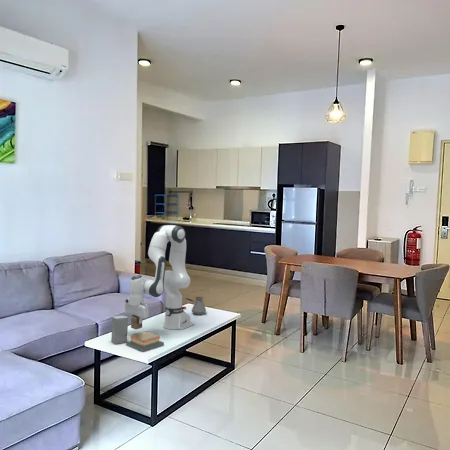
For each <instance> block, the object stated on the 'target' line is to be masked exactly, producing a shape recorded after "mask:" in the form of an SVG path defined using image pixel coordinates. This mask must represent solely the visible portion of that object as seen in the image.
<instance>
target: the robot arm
mask: <svg viewBox="0 0 450 450" xmlns="http://www.w3.org/2000/svg"><path fill="white" fill-rule="evenodd" d="M169 242H170V245H171V246H170V250H169V257H168V262H169V265H170V266H171V268H172V270H171V269H169V270H166V267H167V259H166V252H167V251H166V250H167V244H168V243H169ZM186 254H187V240H186V230H185V228H184V227H183V226H180V225H173V224H164V225H161V226H159V227H158V228H157V231H156V232H154V234H153V236H152V237H151V241H150V243H149V247H148V251H147V255H148V257H149V259H150V260H151V262H153V263H154V265H155V273H154V274H155V275H154V280H153V279H150V278H145V277H143V276H142V275H133V276H132V277H131V278H130V281H129V293H130V294H129V297H128V298H125V299H124V303H125V304H124V312H125V313H126V314H129V315H130V317H131V316H132V315H135V316H138V317H139V318H140V319H139V320H138V323H139V324H140V323H142V324H143V319H147V318H149V315H150V312H149V307H148V305H147V303H145V298H144V297H145V296H144V295H145V294H146V295H149V296H150V297H153V298H159V297H160V296H162V295H163V293H164V291H165V299H166V300H165V309H164V310H165V316H164V322H163V325H162V326H163V328H164V329H166V330H167V329H168V330H185V329H187V328H190V327H191V326H193V325H195V323H194V322H193V321H191V316H190V314H188V313H187V312H185V310H187V307H186V306H183V295H182V293H181V292H180V291H179V290H180V289H181V290H182V289H187V288H189V286H190V284H191V277H190V276H189V274H188V271H187V269H186V268H187V267H186V256H187V255H186Z"/></svg>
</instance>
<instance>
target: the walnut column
mask: <svg viewBox="0 0 450 450" xmlns="http://www.w3.org/2000/svg"><path fill="white" fill-rule="evenodd" d="M139 319H140V318H139V317H138V316H135V315H132V316H131V315H130V329H134V330H139V329H142V328H143V322H142V323H140V324H139V323H138V320H139Z"/></svg>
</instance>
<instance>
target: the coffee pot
mask: <svg viewBox="0 0 450 450" xmlns="http://www.w3.org/2000/svg"><path fill="white" fill-rule="evenodd" d="M194 299H195V300H193V299H191V298H188V297H185V298H184V299H183V300H184V301H186V302H187V301H189V302H194V304H193V306H192V308H191V313H193V315H195V316H201V315H202V314H203V315H204V314H205V313H206V312H207V309H206V307H205V304H204V302H203V301H204V300H203V299H204V297H203V296H195V297H194Z"/></svg>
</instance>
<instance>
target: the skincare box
mask: <svg viewBox="0 0 450 450" xmlns="http://www.w3.org/2000/svg"><path fill="white" fill-rule="evenodd" d="M128 327H129V316H126V315H115V316H114V315H113V316H112V317H111V338H110V339H111V342H112V343H114V345H119V344H124V343H125V344H126V342H128V334H129V333H128V330H129V329H128Z"/></svg>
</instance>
